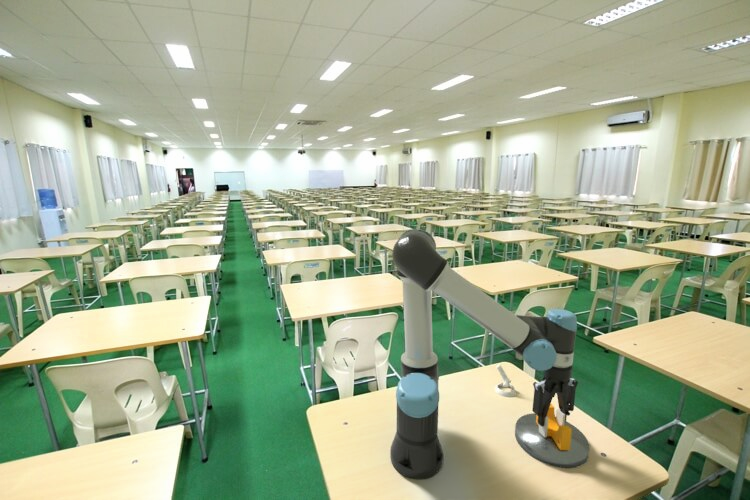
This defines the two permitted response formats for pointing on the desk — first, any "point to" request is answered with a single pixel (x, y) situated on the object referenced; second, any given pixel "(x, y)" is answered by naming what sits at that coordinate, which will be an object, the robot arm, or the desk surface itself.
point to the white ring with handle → (504, 384)
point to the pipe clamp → (558, 430)
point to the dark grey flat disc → (551, 444)
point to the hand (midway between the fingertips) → (550, 432)
